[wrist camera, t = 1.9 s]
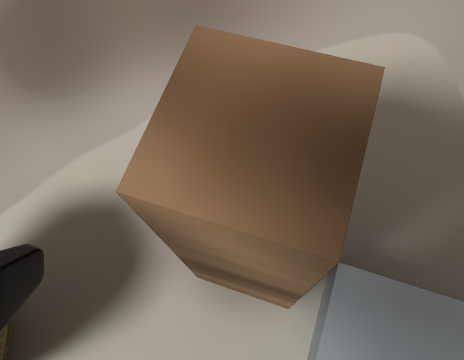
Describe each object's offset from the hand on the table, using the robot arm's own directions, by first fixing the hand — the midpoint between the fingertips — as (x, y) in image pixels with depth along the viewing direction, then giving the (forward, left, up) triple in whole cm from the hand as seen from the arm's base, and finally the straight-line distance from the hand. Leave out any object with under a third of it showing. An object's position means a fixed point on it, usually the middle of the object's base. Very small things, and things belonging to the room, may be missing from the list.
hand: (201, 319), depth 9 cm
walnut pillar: (+4, 0, -11) cm, 12 cm away
